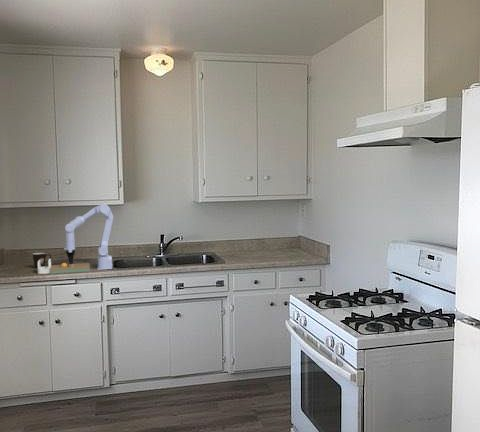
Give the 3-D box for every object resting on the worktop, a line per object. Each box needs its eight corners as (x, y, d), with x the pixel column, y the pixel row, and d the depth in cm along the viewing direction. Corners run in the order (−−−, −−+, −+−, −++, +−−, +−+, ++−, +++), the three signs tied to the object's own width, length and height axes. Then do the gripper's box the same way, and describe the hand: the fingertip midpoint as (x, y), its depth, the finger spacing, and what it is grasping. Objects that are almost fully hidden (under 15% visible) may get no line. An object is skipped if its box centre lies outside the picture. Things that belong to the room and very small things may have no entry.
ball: (67, 268, 337) (67, 262, 337) (67, 269, 333) (67, 263, 333) (61, 268, 336) (61, 262, 336) (61, 269, 332) (60, 263, 332)
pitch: (89, 268, 345) (89, 256, 345) (89, 271, 334) (89, 258, 333) (39, 271, 335) (38, 259, 335) (37, 274, 324) (37, 261, 323)
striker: (73, 267, 339) (73, 255, 339) (73, 268, 333) (73, 256, 333) (68, 267, 338) (68, 255, 338) (68, 269, 332) (68, 257, 332)
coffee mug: (32, 269, 343) (31, 254, 343) (33, 267, 351) (33, 252, 351) (50, 268, 346) (50, 253, 346) (51, 266, 355) (51, 252, 354)
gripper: (64, 240, 340) (64, 260, 341) (63, 243, 326) (64, 263, 327) (75, 240, 342) (75, 260, 343) (75, 242, 329) (75, 263, 330)
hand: (70, 261), depth 335 cm, fingers closed on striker, 3 cm apart
